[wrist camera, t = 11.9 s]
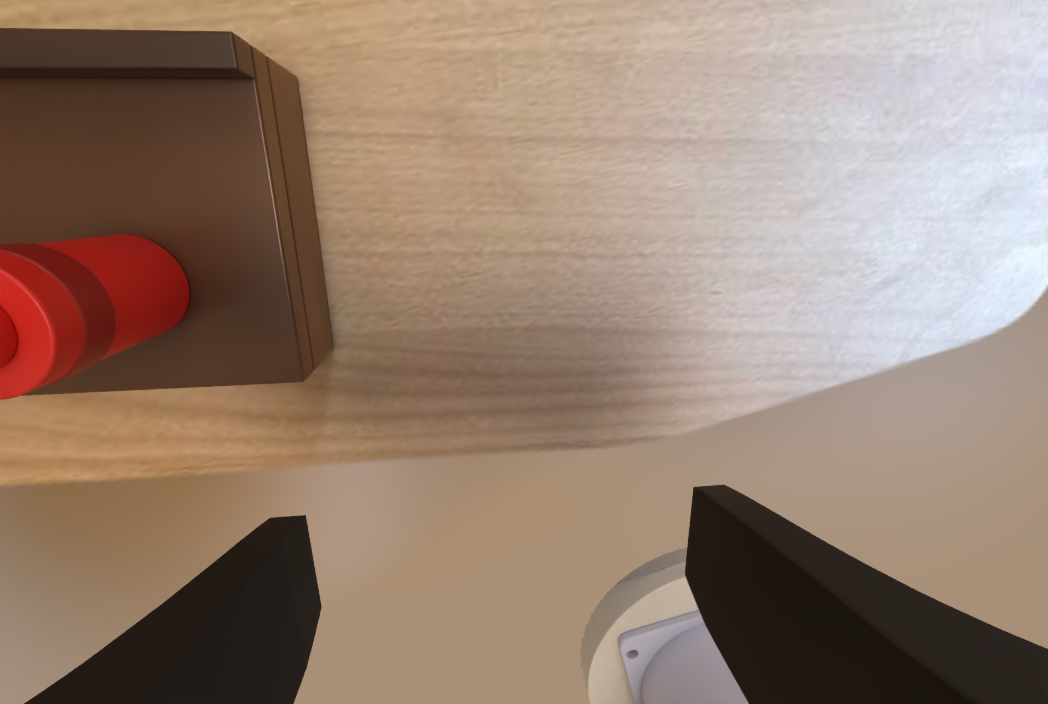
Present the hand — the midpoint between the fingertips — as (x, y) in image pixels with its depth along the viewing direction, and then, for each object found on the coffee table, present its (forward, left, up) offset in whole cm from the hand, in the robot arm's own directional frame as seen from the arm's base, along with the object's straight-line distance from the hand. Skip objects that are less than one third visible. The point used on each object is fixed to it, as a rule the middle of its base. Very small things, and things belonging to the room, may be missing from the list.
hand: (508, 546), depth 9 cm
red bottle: (+6, +8, -7) cm, 13 cm away
